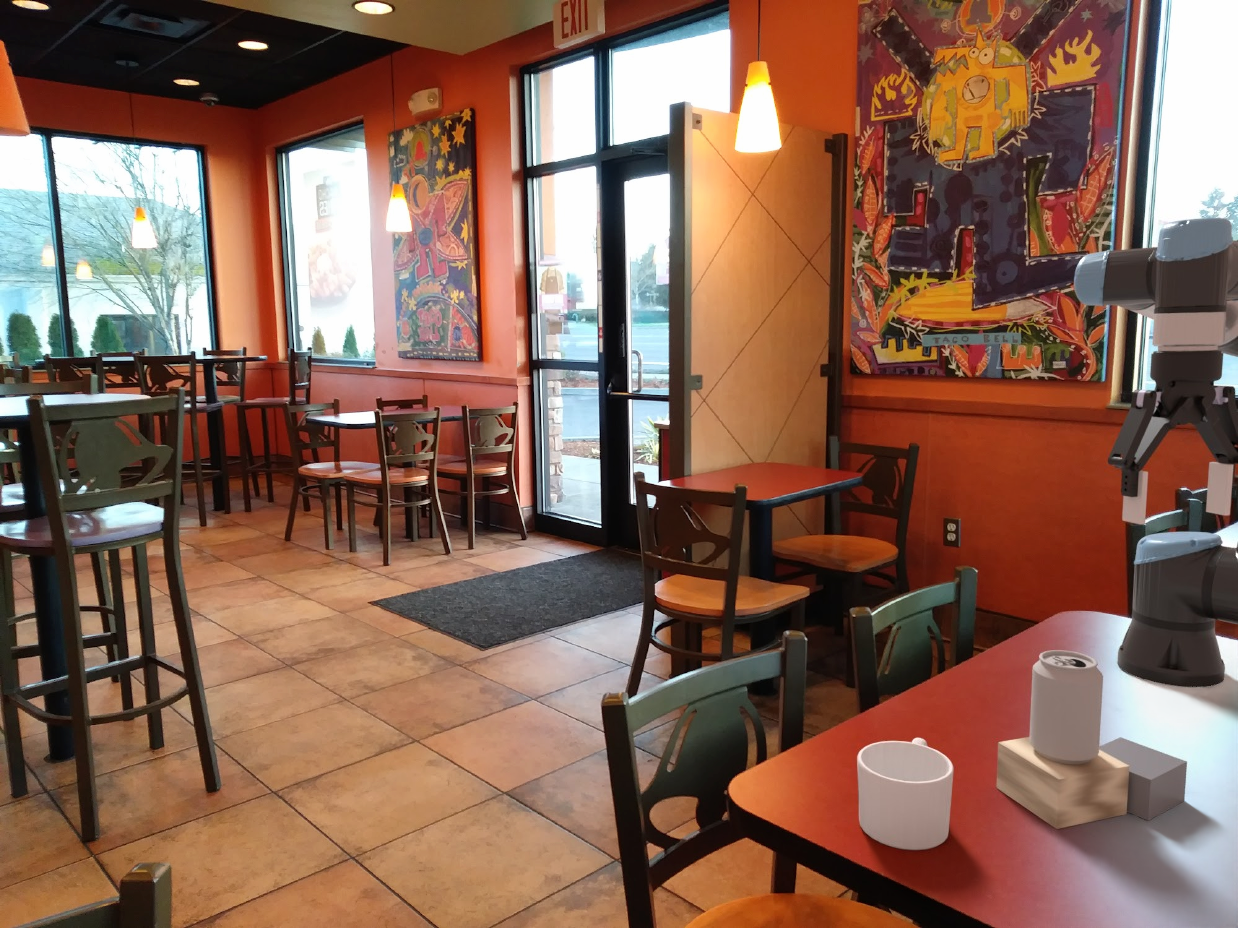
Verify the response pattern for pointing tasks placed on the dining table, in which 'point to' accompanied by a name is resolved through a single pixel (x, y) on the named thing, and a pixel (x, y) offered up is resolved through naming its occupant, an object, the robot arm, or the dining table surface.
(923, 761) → the mug
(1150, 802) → the slate block
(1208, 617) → the robot arm
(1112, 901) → the dining table surface
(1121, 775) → the birch block
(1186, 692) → the dining table surface
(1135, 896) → the dining table surface
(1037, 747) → the can
